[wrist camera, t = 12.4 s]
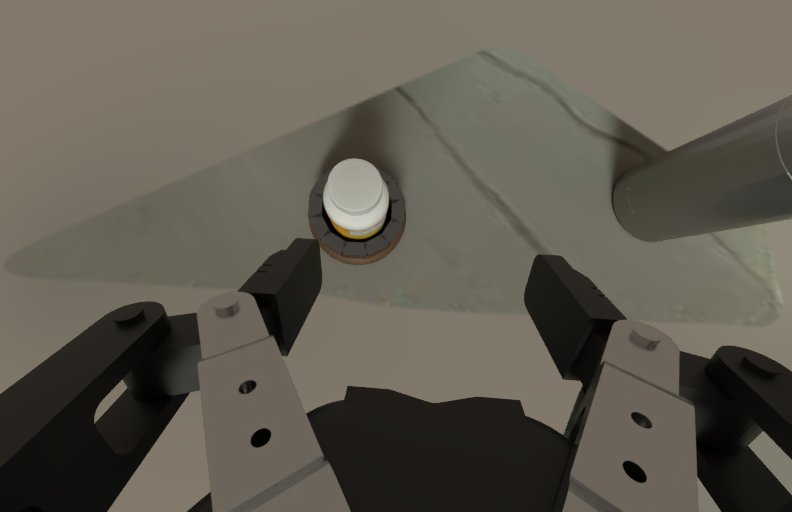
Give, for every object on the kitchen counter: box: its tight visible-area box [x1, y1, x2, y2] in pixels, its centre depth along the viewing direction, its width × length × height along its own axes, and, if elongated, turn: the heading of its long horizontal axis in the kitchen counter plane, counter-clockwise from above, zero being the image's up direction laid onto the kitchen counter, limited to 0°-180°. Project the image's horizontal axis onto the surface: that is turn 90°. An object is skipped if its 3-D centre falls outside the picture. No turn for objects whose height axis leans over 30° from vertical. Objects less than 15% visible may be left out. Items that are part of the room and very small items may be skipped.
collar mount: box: [308, 165, 406, 265], centre depth 30 cm, size 10×10×4 cm
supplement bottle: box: [323, 158, 389, 242], centre depth 26 cm, size 5×5×10 cm
